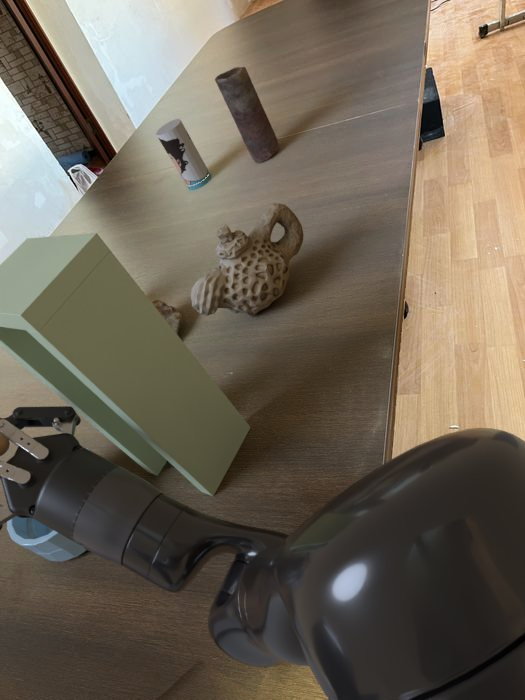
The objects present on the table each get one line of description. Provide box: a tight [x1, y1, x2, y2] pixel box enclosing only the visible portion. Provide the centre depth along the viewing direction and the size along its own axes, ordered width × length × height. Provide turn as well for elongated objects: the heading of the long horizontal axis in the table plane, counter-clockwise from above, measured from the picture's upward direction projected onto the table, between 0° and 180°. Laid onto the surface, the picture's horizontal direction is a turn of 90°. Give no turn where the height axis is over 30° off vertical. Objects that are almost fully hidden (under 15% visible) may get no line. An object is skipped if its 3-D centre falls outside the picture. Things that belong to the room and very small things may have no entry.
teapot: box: [190, 202, 305, 318], centre depth 76 cm, size 21×12×15 cm, turn 123°
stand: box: [0, 232, 251, 497], centre depth 55 cm, size 10×12×32 cm
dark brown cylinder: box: [214, 66, 280, 164], centre depth 113 cm, size 8×7×20 cm
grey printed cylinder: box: [155, 118, 212, 191], centre depth 121 cm, size 7×7×15 cm
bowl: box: [6, 445, 94, 562], centre depth 65 cm, size 14×14×6 cm
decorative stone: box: [151, 299, 182, 335], centre depth 84 cm, size 10×4×15 cm
